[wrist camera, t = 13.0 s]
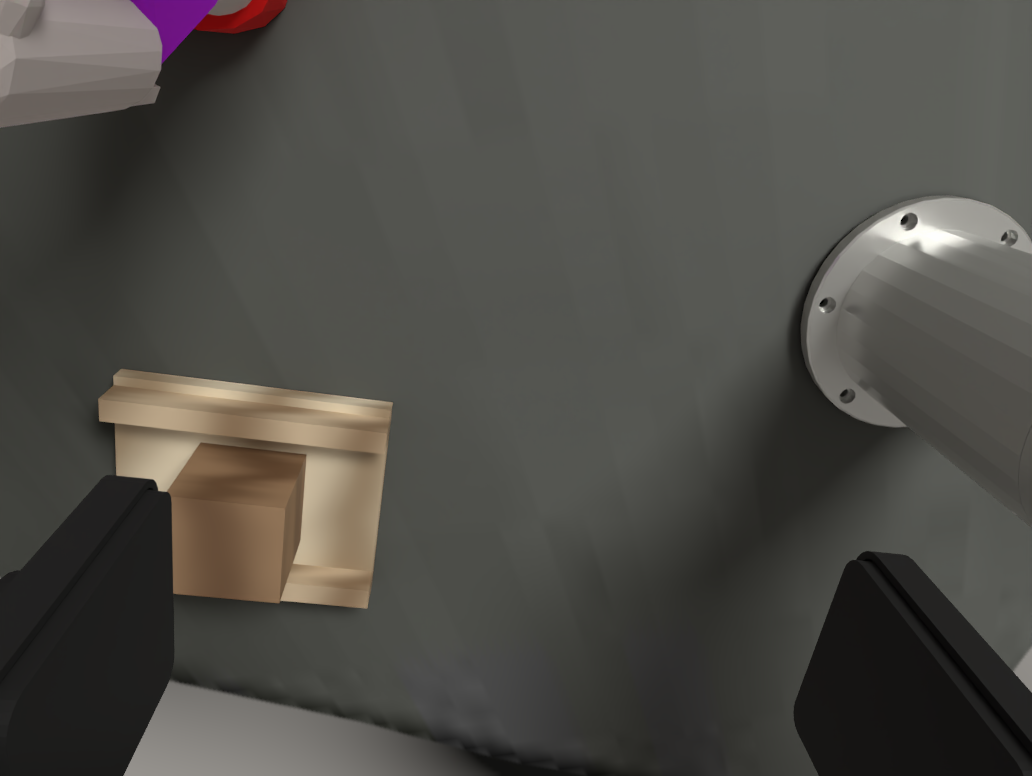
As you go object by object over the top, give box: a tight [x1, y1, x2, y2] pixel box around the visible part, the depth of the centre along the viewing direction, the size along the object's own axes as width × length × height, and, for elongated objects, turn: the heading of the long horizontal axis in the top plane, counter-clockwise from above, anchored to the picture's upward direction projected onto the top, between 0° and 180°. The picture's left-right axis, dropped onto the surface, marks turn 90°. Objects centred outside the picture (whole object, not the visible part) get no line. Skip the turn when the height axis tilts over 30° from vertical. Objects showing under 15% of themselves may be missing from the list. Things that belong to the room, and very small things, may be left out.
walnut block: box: [167, 442, 307, 603], centre depth 40 cm, size 6×6×6 cm
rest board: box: [98, 369, 393, 608], centre depth 42 cm, size 14×12×3 cm
